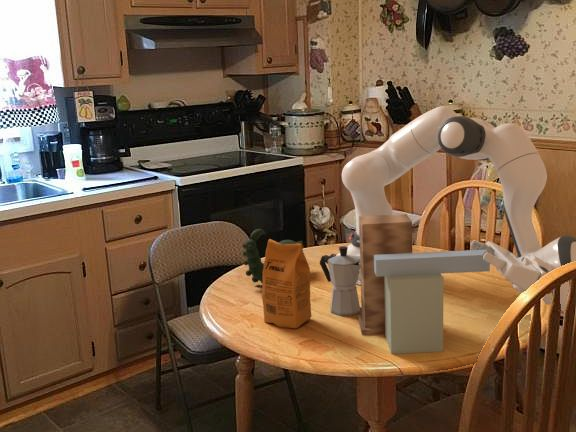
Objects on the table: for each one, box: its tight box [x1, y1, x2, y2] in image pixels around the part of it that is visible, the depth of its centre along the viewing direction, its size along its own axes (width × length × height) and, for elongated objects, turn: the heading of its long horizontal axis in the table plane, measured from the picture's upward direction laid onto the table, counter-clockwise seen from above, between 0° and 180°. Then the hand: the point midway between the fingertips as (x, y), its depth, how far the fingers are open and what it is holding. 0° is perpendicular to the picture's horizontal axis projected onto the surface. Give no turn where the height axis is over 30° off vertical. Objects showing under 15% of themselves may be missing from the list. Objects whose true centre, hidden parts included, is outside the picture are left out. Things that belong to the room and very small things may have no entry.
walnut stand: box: [356, 213, 413, 335], centre depth 165 cm, size 14×11×28 cm
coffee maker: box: [319, 245, 362, 317], centre depth 178 cm, size 15×9×18 cm, turn 44°
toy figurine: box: [241, 228, 304, 284], centre depth 205 cm, size 10×19×26 cm
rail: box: [374, 249, 491, 277], centre depth 152 cm, size 26×4×4 cm, turn 89°
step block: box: [384, 274, 444, 355], centre depth 155 cm, size 12×10×18 cm
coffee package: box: [261, 238, 312, 329], centre depth 172 cm, size 10×12×22 cm
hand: (477, 249), depth 151 cm, fingers open, 8 cm apart
